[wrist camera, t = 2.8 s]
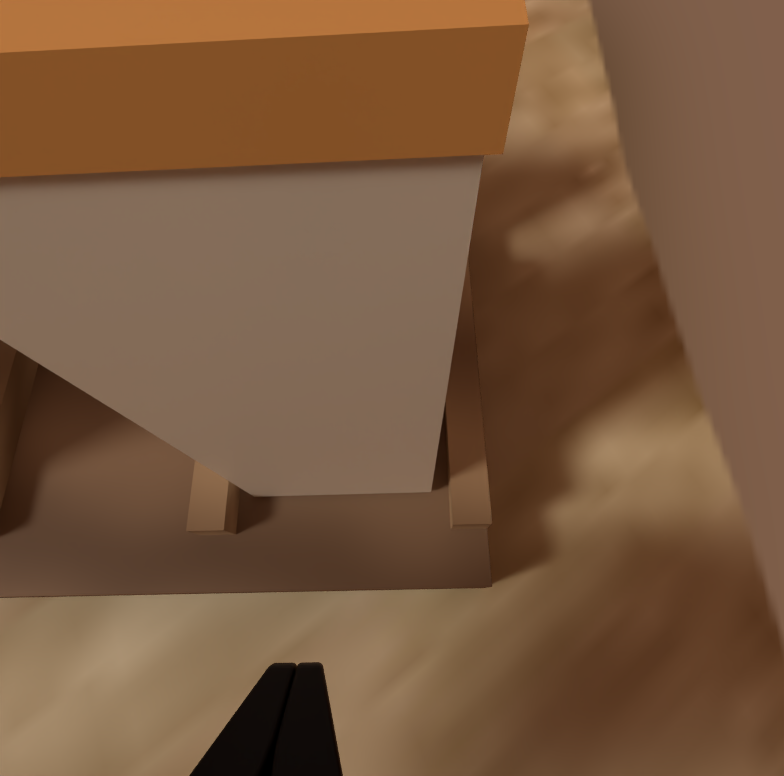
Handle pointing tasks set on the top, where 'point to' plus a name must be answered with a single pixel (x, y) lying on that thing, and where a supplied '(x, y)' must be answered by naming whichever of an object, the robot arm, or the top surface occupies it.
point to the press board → (221, 505)
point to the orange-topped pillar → (252, 219)
